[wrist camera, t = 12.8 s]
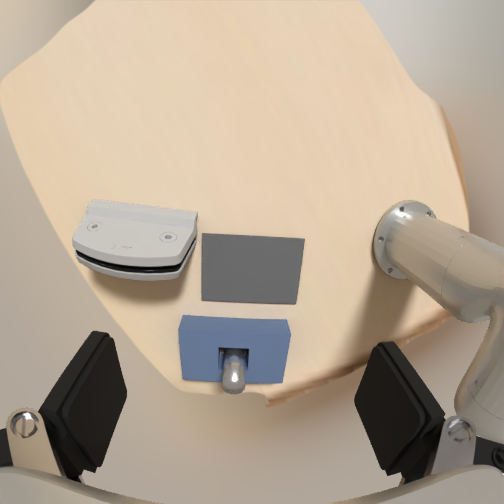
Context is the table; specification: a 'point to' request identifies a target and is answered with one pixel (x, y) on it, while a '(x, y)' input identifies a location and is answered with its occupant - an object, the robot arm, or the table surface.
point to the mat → (251, 268)
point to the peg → (233, 371)
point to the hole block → (233, 336)
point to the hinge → (135, 240)
